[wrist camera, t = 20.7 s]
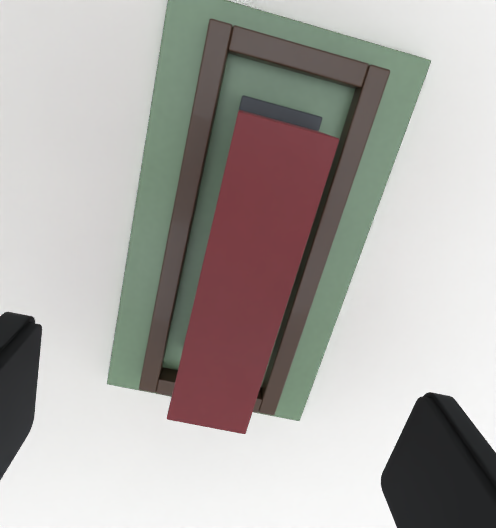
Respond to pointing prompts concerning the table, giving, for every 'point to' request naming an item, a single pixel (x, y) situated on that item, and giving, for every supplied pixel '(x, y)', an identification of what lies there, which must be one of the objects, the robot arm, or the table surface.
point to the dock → (212, 169)
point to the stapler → (250, 261)
